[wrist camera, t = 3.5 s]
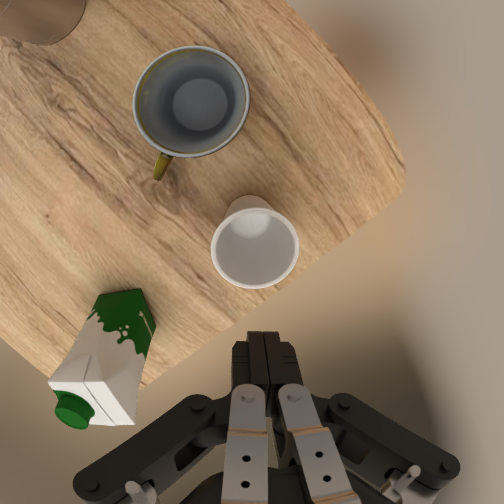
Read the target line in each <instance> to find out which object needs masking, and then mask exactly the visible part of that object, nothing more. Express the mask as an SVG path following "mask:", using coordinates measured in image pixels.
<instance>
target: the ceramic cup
mask: <svg viewBox="0 0 504 504" xmlns="http://www.w3.org/2000/svg"><path fill="white" fill-rule="evenodd" d="M132 107H133V115H134V119H135V123H136V125H137V127H138V129H139V131H140V133H141V134H142V136H143V137H144V138H145V139H146V141H147V142H148V143H150V144H151V145H152V146H153V147H154V148H156V149H157V150H159V151H161V152H160V154H159V156H158V158H157V160H156V163H155V167H154V172H153V177H154V179H155V180H157V181H160V180H161V179H162V178H163V176H164V174H165V172H166V170H167V168H168V166H169V164H170V163H171V161H172V159H173V157H174V156H175V157H180V158H196V157H202V156H206V155H209V154H212V153H214V152H216V151H218V150H220V149H221V148H223V147H224V146H226V145H227V144H229V143H230V142H231V141H232V140H233V139H234V138H235V137H236V136H237V134H238V133H239V132H240V130H241V129H242V127H243V125H244V123H245V121H246V119H247V116H248V113H249V108H250V89H249V84H248V81H247V79H246V76H245V74H244V73H243V71H242V69H241V68H240V67H239V65H238V64H237V63H236V62H235V61H234V60H233V59H232V58H231V57H229V56H228V55H226V54H225V53H223V52H221V51H219V50H217V49H214V48H211V47H207V46H199V45H189V46H182V47H178V48H175V49H172V50H170V51H167V52H165V53H164V54H162V55H160V56H159V57H157V58H156V59H155V60H153V61H152V62H151V63H150V64H149V65H148V66H147V67H146V69H145V70H144V71H143V73H142V74H141V76H140V78H139V79H138V82H137V84H136V87H135V90H134V94H133V102H132Z"/></svg>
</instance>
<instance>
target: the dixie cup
mask: <svg viewBox="0 0 504 504" xmlns="http://www.w3.org/2000/svg"><path fill="white" fill-rule="evenodd" d="M298 255H299V239H298V235H297V232H296V230H295V228H294V227H293V225H292V224H291V223H290V221H289V220H288V219H287V218H285V217H284V216H283V215H281V214H280V213H278V212H276V211H275V210H274V209H273V208H272V207H271V206H270V205H269V204H268V203H267V202H266V201H265V200H263V199H262V198H260V197H258V196H254V195H245V196H241V197H239V198H237V199H236V200H234V201H233V202H232V203H231V204H230V206H229V208H228V210H227V212H226V214H225V216H224V219H223V221H222V223H221V224H220V225H219V226H218V228H217V229H216V231H215V233H214V235H213V238H212V242H211V257H212V261H213V263H214V266H215V268H216V269H217V271H218V272H219V273H220V275H221V276H222V277H223V278H225V279H226V280H227V281H229V282H230V283H232V284H234V285H236V286H239V287H243V288H248V289H259V288H265V287H268V286H271V285H273V284H276V283H277V282H279V281H281V280H282V279H283V278H285V277H286V276H287V275H288V274H289V273H290V271H291V270H292V269H293V267H294V265H295V263H296V261H297V258H298Z"/></svg>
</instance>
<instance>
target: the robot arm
mask: <svg viewBox="0 0 504 504" xmlns="http://www.w3.org/2000/svg"><path fill="white" fill-rule="evenodd" d="M84 8H85V0H0V36H4V37H8V38H13V39H18V40H22V41H26V42H30V43H33V44H38V45H50V44H53V43H56V42H58V41H59V40H61V39H63V38H64V37H65V36H67V35H68V34H69V33H70V32H71V31H72V30H73V29H74V27H75V26H76V25H77V23H78V22H79V20H80V18H81V16H82V14H83V11H84ZM231 373H232V374H231V377H232V378H231V380H232V381H231V383H232V385H231V387H232V388H231V392H230V393H229V394H228V395H227V396H225V397H223V398H220V399H216V400H211V399H210V398H209V397H207V396H205V395H199V394H195V395H190V396H188V397H186V398H185V399H183V400H182V401H181V402H179V403H178V404H177V405H175V406H174V407H173V408H172V409H170V410H169V411H167V412H166V413H165V414H163V415H162V416H161V417H159V418H158V419H156V420H155V421H154V422H152V423H151V424H149V425H148V426H147V427H145V428H144V429H142V430H141V431H140V432H138V433H137V434H135V435H134V436H133V437H131V438H130V439H128V440H127V441H125V442H124V443H122V444H121V445H119V446H118V447H117V448H115V449H114V450H112V451H111V452H109V453H108V454H106V455H104V456H103V457H102V458H100V459H98V460H97V461H95V462H94V463H92V464H91V465H89V466H88V467H86V468H84V469H83V470H81V471H80V472H78V473H77V474H76V476H75V477H74V479H73V488H74V491H75V492H76V494H77V495H78V496H79V497H80V498H81V499H82V500H83V502H84V503H85V504H161V501H160V499H159V498H158V495H160V494H161V493H162V492H163V491H165V490H166V489H167V488H168V487H169V486H171V485H172V484H173V483H174V482H176V481H177V480H178V479H179V478H180V477H182V476H183V475H184V474H185V473H186V472H187V471H188V470H190V469H191V468H192V467H193V466H194V465H196V464H197V463H198V462H199V461H200V460H201V459H202V458H203V457H204V456H206V455H207V454H208V453H209V452H210V451H211V450H212V449H213V448H214V447H215V445H219V444H223V443H227V444H226V455H225V465H224V472H220V473H217V474H215V475H212V476H210V477H209V478H207V479H206V480H204V481H203V482H202V483H201V484H199V485H198V486H197V487H196V488H195V489H194V490H193V491H192V492H191V493H190V494H189V495H188V496H187V497H186V498H185V499H184V500H183V501H182V502H180V503H179V504H432V503H433V501H434V500H435V498H436V496H437V495H438V493H439V491H440V490H442V489H443V488H444V487H445V486H446V485H447V484H448V483H450V482H451V481H452V480H453V479H454V478H455V477H456V476H457V475H458V474H459V471H460V463H459V461H458V459H457V458H456V457H455V456H453V455H452V454H450V453H448V452H446V451H444V450H442V449H441V448H439V447H437V446H435V445H433V444H432V443H430V442H428V441H427V440H425V439H423V438H421V437H420V436H418V435H416V434H414V433H413V432H411V431H409V430H408V429H405V428H404V427H403V426H401V425H399V424H398V423H396V422H394V421H393V420H391V419H389V418H387V417H386V416H384V415H383V414H381V413H379V412H378V411H376V410H375V409H373V408H371V407H370V406H368V405H366V404H365V403H363V402H362V401H360V400H359V399H357V398H356V397H354V396H352V395H350V394H347V393H338V394H335V395H334V396H332V397H331V398H330V399H325V398H320V397H316V396H314V395H312V394H310V392H309V391H308V390H307V389H306V388H305V387H304V385H303V381H302V377H301V373H300V369H299V365H298V361H297V358H296V353H295V349H294V348H293V346H292V345H291V344H290V343H289V342H280V337H279V333H278V332H260V331H248V332H247V340H246V341H236V343H235V345H234V346H233V348H232V367H231ZM265 417H271V418H272V425H271V434H272V438H273V442H274V447H275V452H276V456H277V461H278V469H277V468H271V467H268V457H267V456H268V454H267V453H268V450H267V432H266V429H265ZM343 464H345V465H346V466H347V467H349V468H350V469H352V470H353V471H355V472H356V473H358V474H359V475H361V476H362V477H364V478H365V479H367V480H369V481H370V482H372V483H373V484H375V485H376V486H378V487H379V488H381V490H380V491H381V493H380V492H378V491H377V490H375V489H374V488H373V487H371V486H370V485H368V484H367V483H365V482H364V481H363V480H361V479H360V478H358V477H357V476H356V475H354V474H353V473H351V472H350V471H348V470H345V469H344V466H343Z"/></svg>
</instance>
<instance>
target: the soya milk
mask: <svg viewBox="0 0 504 504" xmlns="http://www.w3.org/2000/svg"><path fill="white" fill-rule="evenodd" d="M155 328H156V326H155V323H154V321H153V318H152V316H151V314H150V311H149V309H148V306H147V304H146V301H145V299H144V296H143V294H142V291H141V289H135V290H129V291H123V292H116V293H110V294H104V295H99V296H98V298H97V300H96V302H95V304H94V306H93V309H92V311H91V313H90V315H89V317H88V318H87V320H86V322H85V324H84V326H83V327H82V329H81V331H80V333H79V335H78V336H77V338H76V340H75V342H74V344H73V346H72V348H71V349H70V351H69V353H68V355H67V356H66V358H65V359H64V360H63V362H62V363H61V364H60V366H59V367H58V368H57V369H56V371H55V372H54V373H53V375H52V376H51V377H50V379H49V380H48V384H49V385H50V386H51V387H52V389H53V391H54V393H55V394H56V395H57V398H58V400H59V401H58V404H57V406H56V409H55V414H56V416H57V417H58V418H59V419H60V420H61V421H62V422H63V423H65V424H66V425H68V426H70V427H72V428H75V429H86V428H87V427H88V424H98V425H108V426H116V425H135V419H136V406H137V397H138V389H139V384H140V380H141V376H142V372H143V368H144V364H145V360H146V357H147V353H148V349H149V345H150V342H151V339H152V336H153V334H154V331H155Z"/></svg>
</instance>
